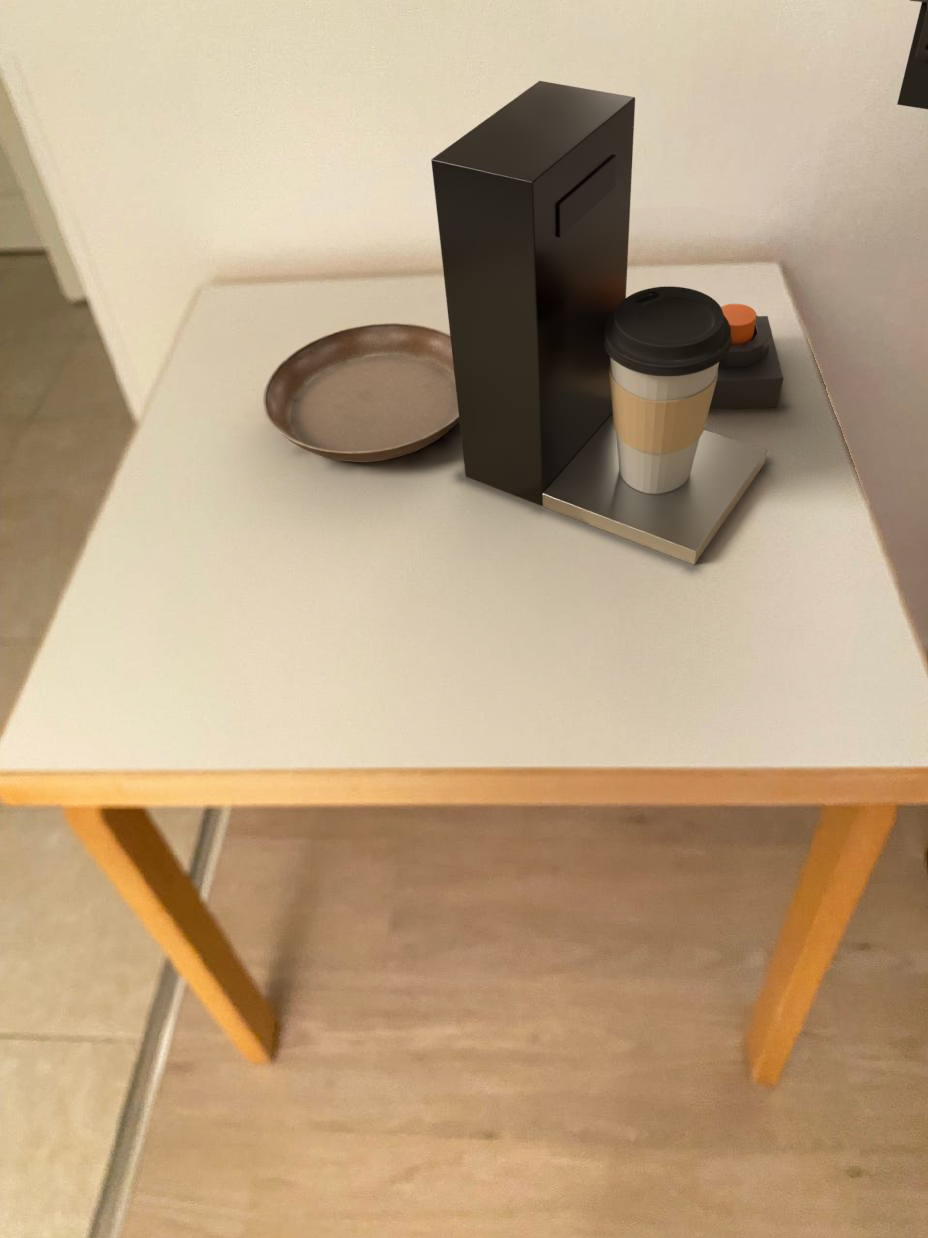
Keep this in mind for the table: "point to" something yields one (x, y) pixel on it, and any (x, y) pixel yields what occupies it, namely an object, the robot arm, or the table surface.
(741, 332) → the button
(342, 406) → the plant saucer
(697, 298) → the coffee cup
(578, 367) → the coffee maker
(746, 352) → the control block
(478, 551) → the table surface
